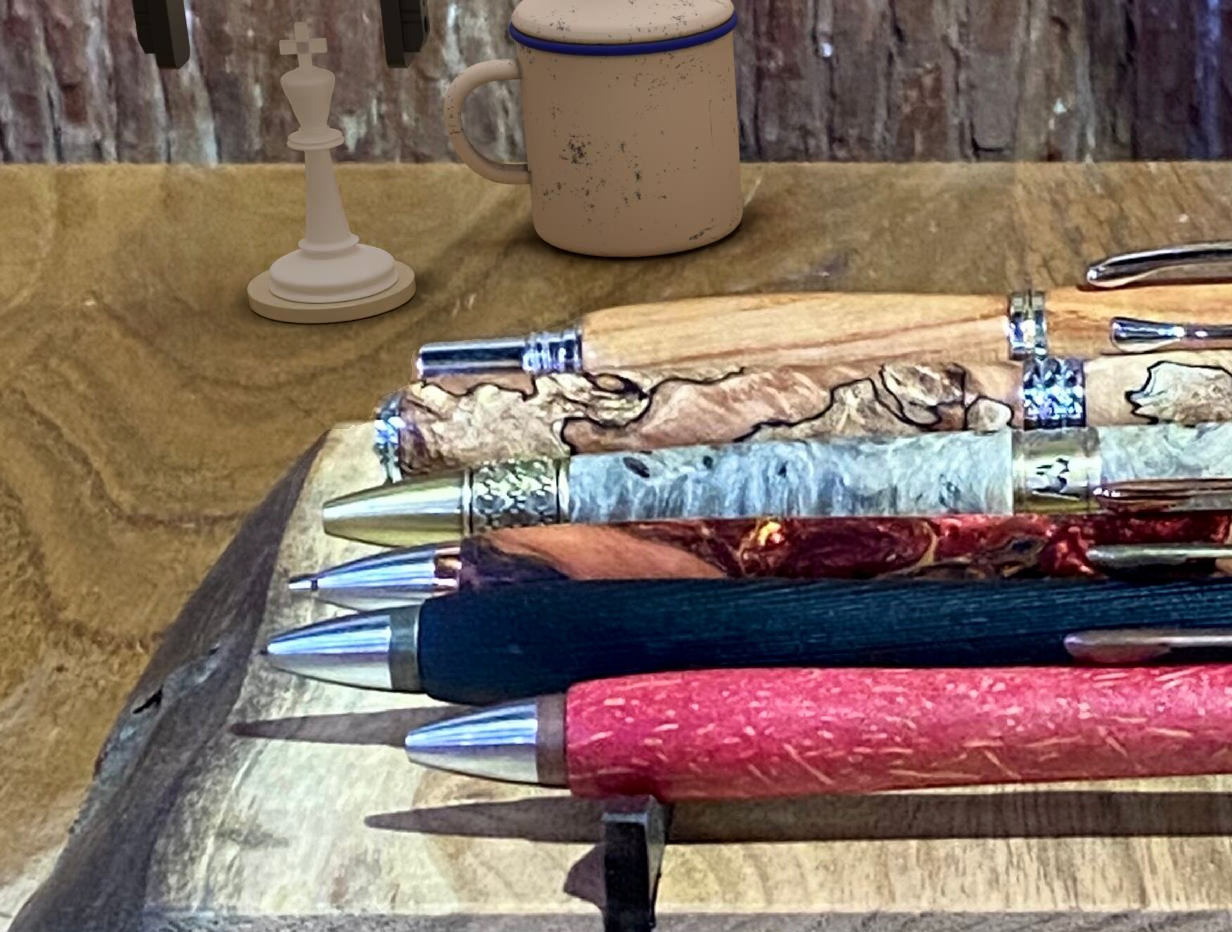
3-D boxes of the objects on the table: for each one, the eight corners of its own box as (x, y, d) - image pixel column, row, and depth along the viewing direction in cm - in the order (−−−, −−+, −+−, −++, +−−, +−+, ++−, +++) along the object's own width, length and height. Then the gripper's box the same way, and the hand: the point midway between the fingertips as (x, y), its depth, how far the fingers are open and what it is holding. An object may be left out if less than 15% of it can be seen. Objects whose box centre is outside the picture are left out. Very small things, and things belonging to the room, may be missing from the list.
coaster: (230, 324, 102) (227, 309, 102) (271, 269, 107) (270, 255, 107) (397, 322, 102) (395, 307, 101) (430, 268, 107) (429, 253, 107)
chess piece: (276, 265, 106) (240, 10, 101) (402, 258, 106) (373, 4, 102) (262, 307, 102) (224, 42, 97) (393, 299, 102) (362, 36, 97)
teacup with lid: (727, 185, 116) (711, -91, 111) (768, 249, 108) (752, -45, 103) (448, 212, 114) (417, -69, 108) (468, 279, 106) (436, -20, 100)
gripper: (-8, -389, 90) (70, 92, 97) (416, -394, 90) (462, 89, 97) (59, -411, 97) (127, 41, 104) (455, -416, 96) (494, 38, 104)
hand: (289, 64), depth 101 cm, fingers open, 8 cm apart
